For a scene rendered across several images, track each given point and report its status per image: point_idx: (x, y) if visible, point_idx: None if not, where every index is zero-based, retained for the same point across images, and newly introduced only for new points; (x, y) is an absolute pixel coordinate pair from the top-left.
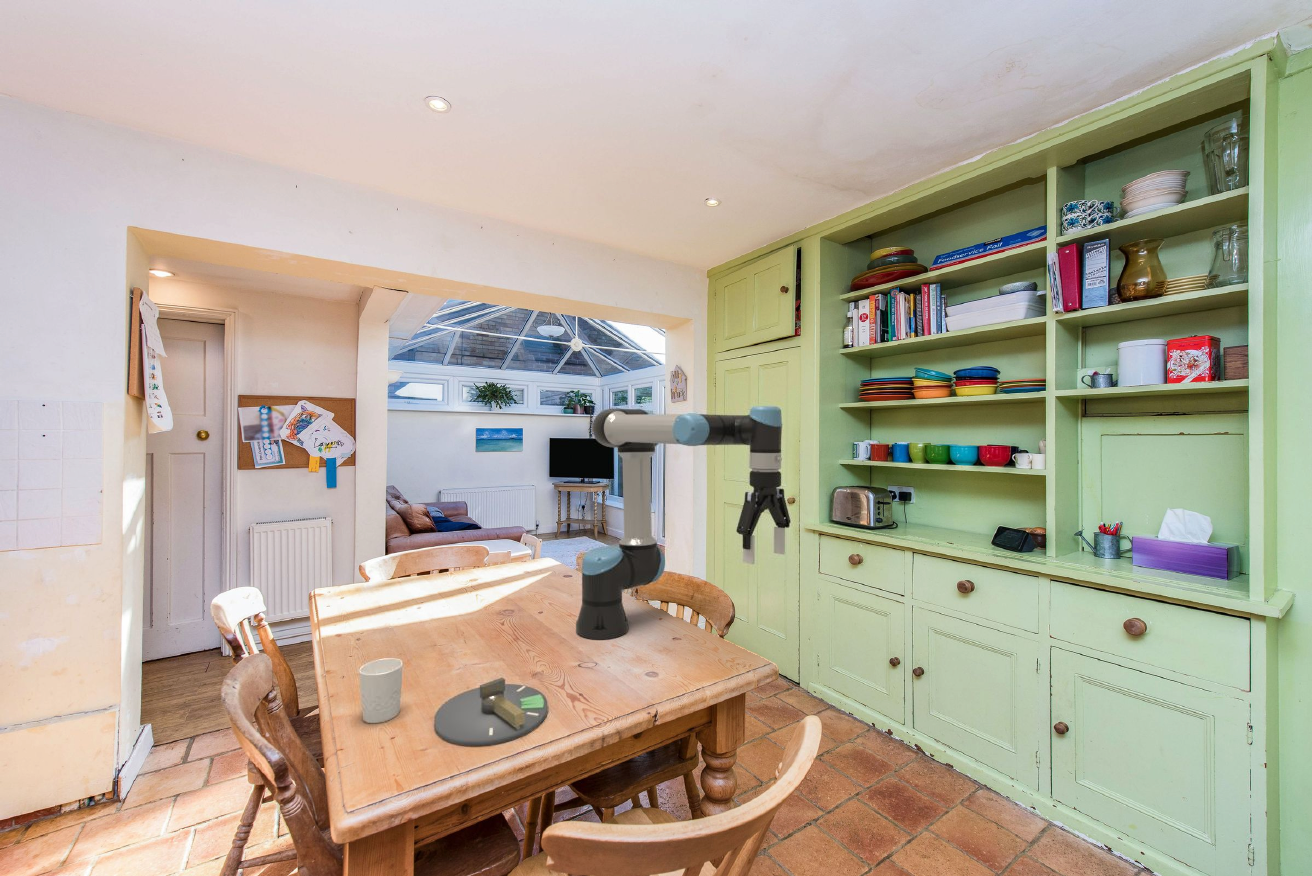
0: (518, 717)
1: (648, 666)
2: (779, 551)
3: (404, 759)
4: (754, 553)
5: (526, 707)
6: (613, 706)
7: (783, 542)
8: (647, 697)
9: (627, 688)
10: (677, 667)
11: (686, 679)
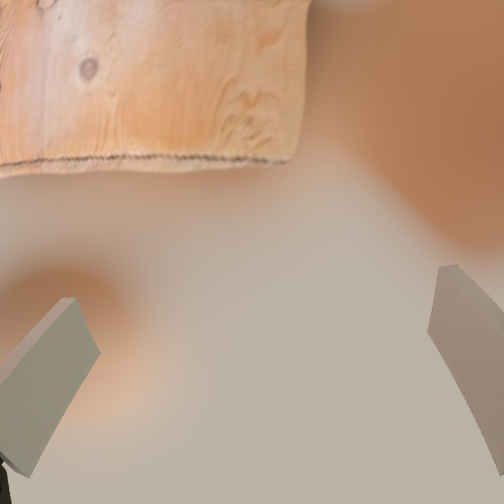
0: None
1: (102, 38)
2: (437, 318)
3: None
4: (75, 392)
5: None
6: (10, 137)
7: (460, 387)
8: (45, 137)
9: (39, 97)
10: (138, 65)
11: (119, 116)
